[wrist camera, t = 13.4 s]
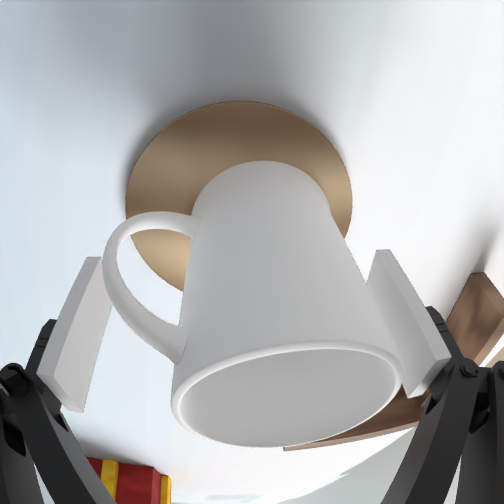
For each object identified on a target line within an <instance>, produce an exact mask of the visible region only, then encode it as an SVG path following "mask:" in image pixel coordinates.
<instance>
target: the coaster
mask: <svg viewBox="0 0 504 504" xmlns="http://www.w3.org/2000/svg"><path fill="white" fill-rule="evenodd" d="M251 161H276V162H281V163H285V164H288V165H291V166H294V167H296V168H298V169H300V170H302V171H303V172H305V173H306V174H308V175H309V176H310V177H311V178H312V179H313V180H314V181H315V182H316V183H317V184H318V185H319V186H320V188H321V189H322V191H323V192H324V194H325V196H326V198H327V201H328V203H329V207H330V212H331V215H332V217H333V219H334V221H335V223H336V225H337V227H338V229H339V231H340V233H341V234H342V236H343V238H344V239H345V236H346V234H347V231H348V228H349V224H350V221H351V214H352V190H351V184H350V180H349V177H348V174H347V171H346V168H345V166H344V164H343V162H342V160H341V158H340V156H339V154H338V153H337V151H336V150H335V149H334V147H333V146H332V145H331V143H330V142H329V141H328V140H327V139H326V138H325V137H324V136H323V135H322V134H321V133H320V132H319V131H318V130H317V129H316V128H315V127H313V126H312V125H311V124H309V123H308V122H307V121H305V120H304V119H303V118H301V117H299V116H297V115H295V114H293V113H291V112H289V111H287V110H284V109H282V108H279V107H276V106H273V105H269V104H264V103H259V102H249V101H232V102H221V103H217V104H212V105H208V106H204V107H201V108H199V109H196V110H193V111H191V112H189V113H187V114H185V115H183V116H181V117H180V118H178V119H176V120H174V121H173V122H172V123H170V124H169V125H168V126H166V127H165V128H164V129H163V130H162V131H161V132H160V133H159V134H158V135H157V136H156V137H155V138H154V139H153V140H152V141H151V142H150V143H149V144H148V146H147V147H146V149H145V150H144V151H143V153H142V154H141V155H140V157H139V159H138V161H137V163H136V165H135V166H134V168H133V171H132V173H131V176H130V179H129V182H128V187H127V193H126V210H125V211H126V219H129V218H131V217H133V216H136V215H138V214H142V213H147V212H156V211H165V212H175V213H180V214H185V215H189V216H191V214H192V210H193V207H194V204H195V202H196V199H197V198H198V196H199V194H200V193H201V191H202V190H203V189H204V187H205V186H206V185H207V184H208V183H209V182H210V181H211V180H212V179H213V178H215V177H216V176H217V175H219V174H220V173H222V172H223V171H225V170H227V169H229V168H231V167H233V166H236V165H239V164H242V163H246V162H251ZM131 238H132V240H133V242H134V245H135V247H136V249H137V250H138V252H139V254H140V255H141V257H142V258H143V260H144V261H145V262H146V263H147V264H148V266H149V267H150V268H151V269H152V270H153V271H154V272H155V273H156V274H157V275H158V276H159V277H161V278H162V279H163V280H165V281H166V282H167V283H169V284H170V285H172V286H174V287H175V288H177V289H179V290H181V291H183V290H184V283H185V277H186V270H187V264H188V257H189V251H190V245H191V238H190V237H189V236H187V235H185V234H183V233H180V232H177V231H173V230H167V229H147V230H142V231H138V232H135V233H133V234H131Z"/></svg>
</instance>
